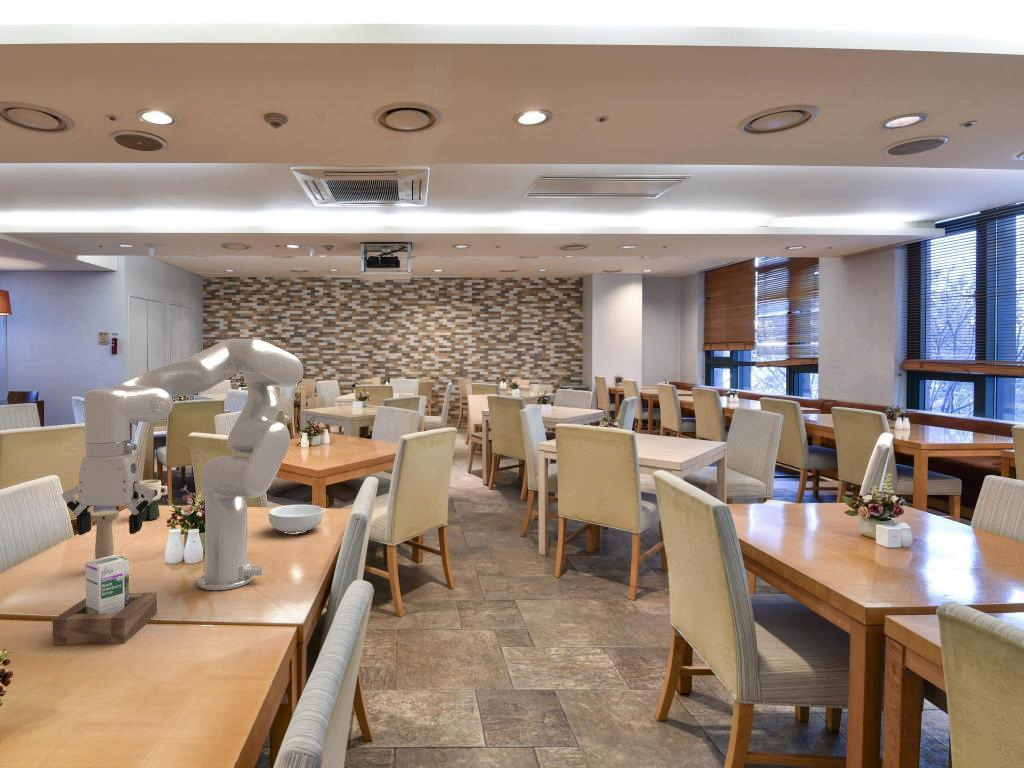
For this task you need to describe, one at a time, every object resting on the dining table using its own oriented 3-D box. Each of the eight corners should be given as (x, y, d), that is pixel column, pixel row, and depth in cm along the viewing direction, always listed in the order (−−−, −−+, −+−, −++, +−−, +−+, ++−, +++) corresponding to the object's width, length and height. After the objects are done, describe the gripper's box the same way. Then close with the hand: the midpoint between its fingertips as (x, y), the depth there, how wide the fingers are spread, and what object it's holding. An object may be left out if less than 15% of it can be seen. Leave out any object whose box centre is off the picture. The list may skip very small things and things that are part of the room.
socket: (156, 615, 129) (156, 592, 129) (124, 643, 116) (124, 617, 116) (92, 616, 128) (92, 593, 127) (52, 645, 115) (52, 619, 114)
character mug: (129, 523, 199) (129, 484, 199) (131, 518, 205) (131, 480, 205) (166, 520, 204) (166, 482, 203) (168, 515, 210) (168, 478, 210)
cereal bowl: (312, 539, 186) (312, 517, 186) (259, 538, 186) (259, 515, 186) (329, 524, 203) (330, 504, 203) (281, 523, 203) (281, 503, 203)
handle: (118, 570, 155) (118, 513, 154) (88, 574, 152) (88, 516, 151) (119, 565, 159) (119, 509, 159) (90, 568, 156) (90, 512, 155)
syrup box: (98, 638, 118) (98, 565, 117) (85, 630, 121) (85, 560, 121) (129, 627, 123) (129, 558, 122) (115, 620, 126) (115, 552, 125)
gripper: (162, 446, 125) (163, 526, 126) (74, 446, 123) (76, 528, 124) (144, 452, 118) (145, 537, 119) (50, 453, 116) (52, 539, 117)
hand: (110, 532), depth 122 cm, fingers open, 9 cm apart
